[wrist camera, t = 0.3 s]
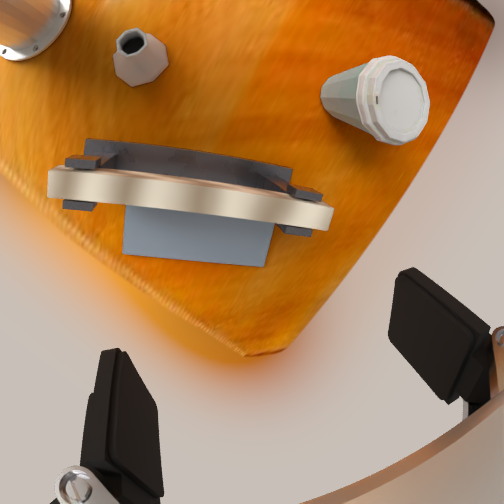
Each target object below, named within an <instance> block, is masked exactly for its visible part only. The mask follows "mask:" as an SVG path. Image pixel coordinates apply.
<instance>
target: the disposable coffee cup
mask: <svg viewBox="0 0 504 504" xmlns="http://www.w3.org/2000/svg"><path fill="white" fill-rule="evenodd" d="M320 98H321V101H322V104H323V107H324V108H325V110H326V111H328V112H329V113H330V114H331V115H332V116H333V117H335V118H337V119H339V120H342V121H344V122H346V123H348V124H350V125H353V126H355V127H357V128H359V129H361V130H363V131H365V132H367V133H369V134H371V135H373V136H374V138H375V139H376V140H377V141H381V142H385V143H388V144H392V145H402V144H404V143H407V142H409V141H412V140H414V139H416V137H418V135H419V134H420V132H421V131H422V129H423V128H424V126H425V124H426V123H427V119H428V113H429V106H430V101H429V96H428V92H427V87H426V83H425V82H424V80H423V79H422V77H421V76H420V74H419V73H418V71H417V70H416V68H415V67H414V66H413V65H412V64H410V63H408V62H406V61H404V60H402V59H400V58H398V57H396V56H390V55H389V56H384V57H379V58H375V59H372V60H371V61H370V62H369V63H366V64H363V65H360V66H358V67H355V68H352V69H350V70H347V71H344V72H342V73H339V74H336V75H334V76H331V77H329V78H328V80H327V81H326V82H325V83H324V84H323V86H322V89H321V95H320Z"/></svg>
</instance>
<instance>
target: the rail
mask: <svg viewBox="0 0 504 504" xmlns="http://www.w3.org/2000/svg"><path fill="white" fill-rule="evenodd" d="M47 198H59V199H71V200H82V201H93V202H103V203H113V204H123V205H133V206H142V207H151V208H160V209H169V210H178V211H186V212H195V213H203V214H211V215H219V216H226V217H234V218H242V219H249V220H256V221H264V222H271V223H278V224H285V225H292V226H298V227H305V228H312V229H318V230H325V231H328V228H329V225H330V222H331V218H332V215H333V212H334V208H333V207H331V206H330V205H328V204H326V203H325V202H323V201H322V200H321V202H318V201H313V200H308V199H303V198H298V197H294V196H293V195H291V194H286V193H280V192H275V191H269V190H263V189H258V188H252V187H246V186H240V185H233V184H227V183H220V182H214V181H207V180H200V179H193V178H185V177H178V176H170V175H162V174H154V173H145V172H136V171H126V170H116V169H105V168H96V169H83V168H69V167H65V165H58V166H56V167H54V168H52V169H50V170H49V171H48V190H47Z"/></svg>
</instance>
